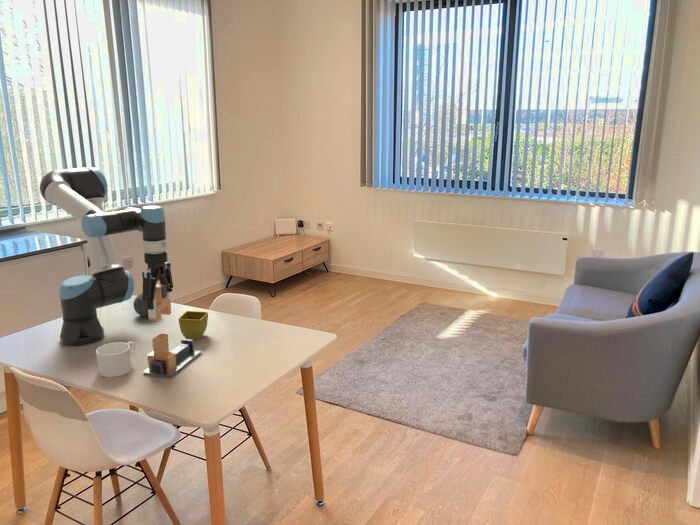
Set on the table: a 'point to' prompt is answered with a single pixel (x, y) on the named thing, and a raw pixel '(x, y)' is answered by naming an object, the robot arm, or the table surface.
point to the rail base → (169, 357)
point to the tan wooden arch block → (161, 302)
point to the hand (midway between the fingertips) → (159, 313)
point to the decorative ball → (141, 305)
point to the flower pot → (193, 324)
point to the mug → (114, 358)
